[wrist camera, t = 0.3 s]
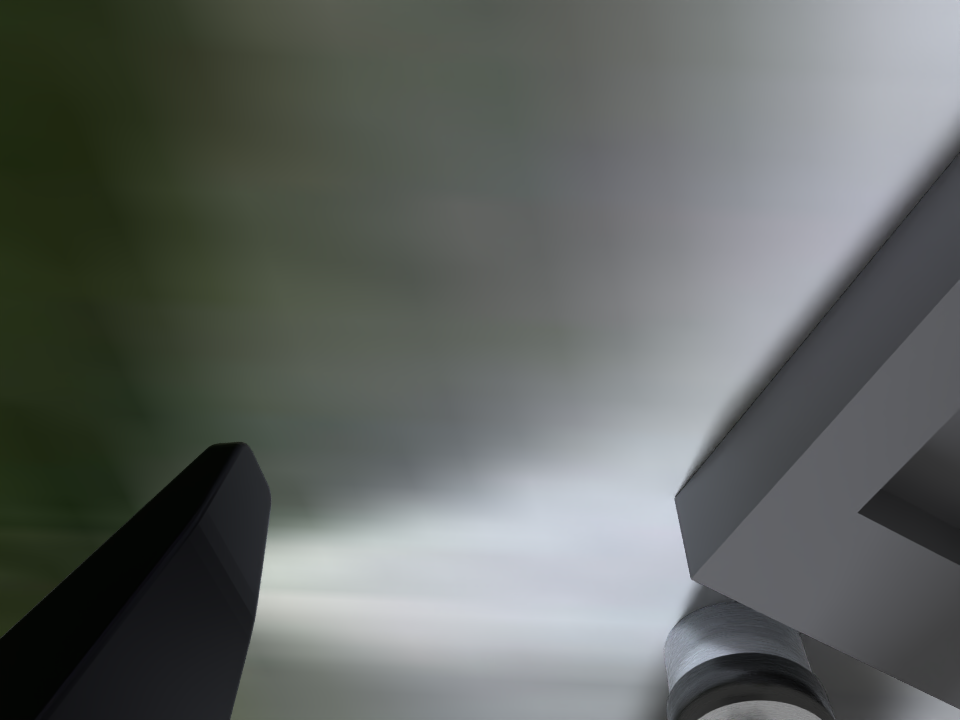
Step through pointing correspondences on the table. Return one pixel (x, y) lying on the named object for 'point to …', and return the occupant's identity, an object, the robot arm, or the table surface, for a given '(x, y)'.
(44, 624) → the robot arm
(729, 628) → the lens
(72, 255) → the table surface
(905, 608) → the camera body
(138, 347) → the table surface
